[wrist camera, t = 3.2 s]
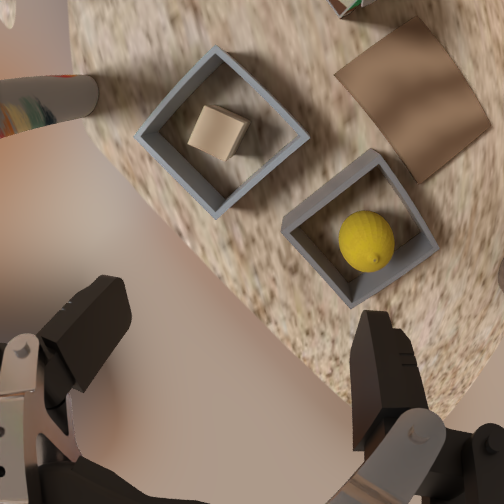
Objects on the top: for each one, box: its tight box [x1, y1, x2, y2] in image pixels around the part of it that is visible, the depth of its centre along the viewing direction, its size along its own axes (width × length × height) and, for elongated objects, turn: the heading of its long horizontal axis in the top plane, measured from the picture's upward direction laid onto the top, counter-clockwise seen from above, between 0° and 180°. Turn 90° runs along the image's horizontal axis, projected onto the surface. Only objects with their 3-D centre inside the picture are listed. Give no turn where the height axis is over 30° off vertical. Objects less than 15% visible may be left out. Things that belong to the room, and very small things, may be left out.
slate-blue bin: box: [133, 45, 310, 220], centre depth 27 cm, size 12×12×4 cm
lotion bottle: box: [0, 75, 99, 138], centre depth 20 cm, size 6×6×20 cm
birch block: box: [188, 105, 251, 162], centre depth 27 cm, size 4×4×4 cm
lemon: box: [339, 211, 395, 273], centre depth 28 cm, size 6×6×8 cm
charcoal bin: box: [281, 148, 440, 309], centre depth 29 cm, size 12×12×4 cm
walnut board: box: [334, 16, 491, 184], centre depth 23 cm, size 14×12×1 cm
